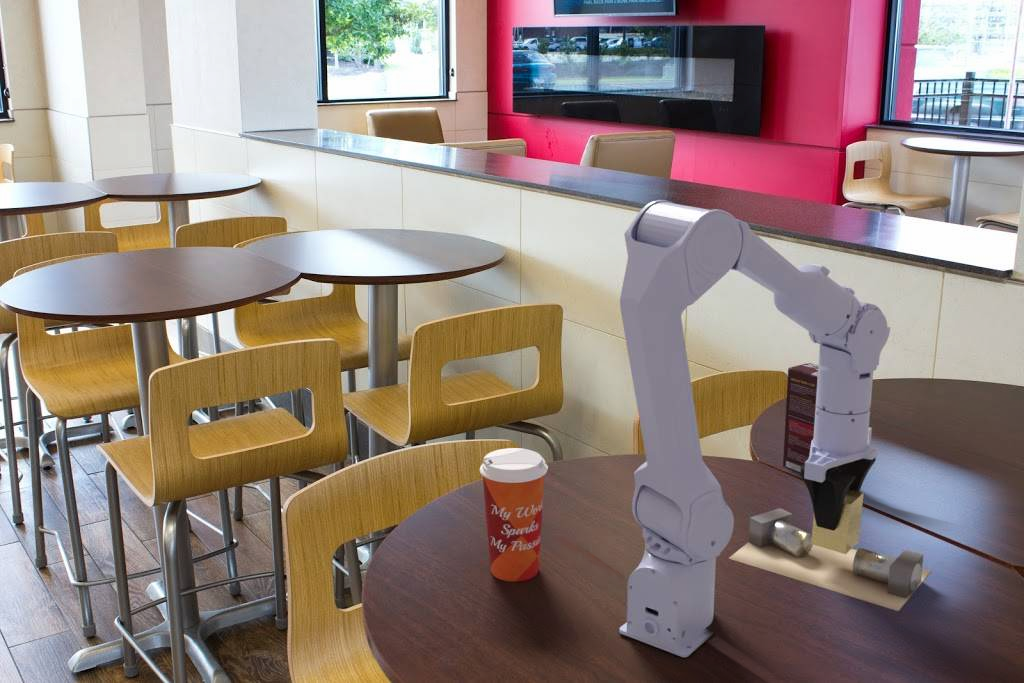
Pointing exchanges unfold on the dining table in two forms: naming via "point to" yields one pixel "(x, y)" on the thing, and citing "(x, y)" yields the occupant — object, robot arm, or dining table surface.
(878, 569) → the shaft straight
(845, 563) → the board
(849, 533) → the yellow rectangular block
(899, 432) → the dining table surface
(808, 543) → the shaft angled
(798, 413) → the supplement box
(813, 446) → the robot arm
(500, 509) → the paper cup
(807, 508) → the dining table surface
